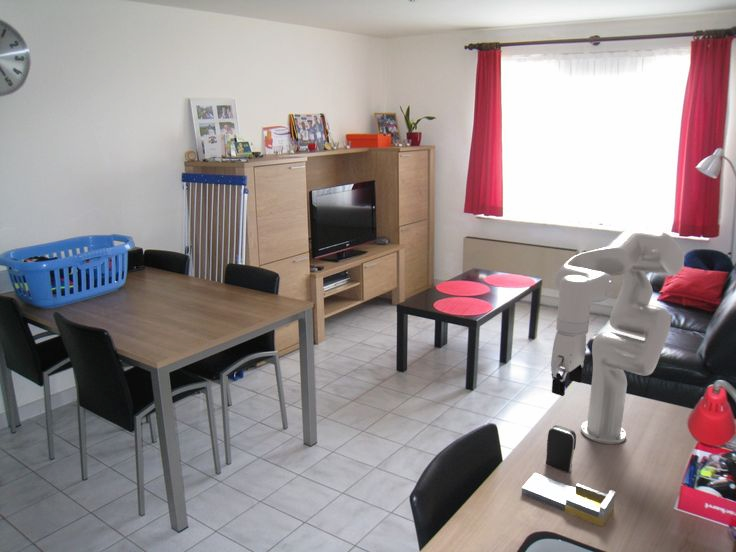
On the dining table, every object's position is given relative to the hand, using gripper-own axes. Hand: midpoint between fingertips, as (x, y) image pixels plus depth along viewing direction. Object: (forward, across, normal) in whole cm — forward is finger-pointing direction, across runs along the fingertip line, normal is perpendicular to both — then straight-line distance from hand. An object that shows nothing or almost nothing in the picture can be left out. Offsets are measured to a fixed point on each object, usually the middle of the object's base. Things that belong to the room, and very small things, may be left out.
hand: (566, 387), depth 154 cm
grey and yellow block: (+24, +11, +7) cm, 28 cm away
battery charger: (+25, -2, -1) cm, 25 cm away
